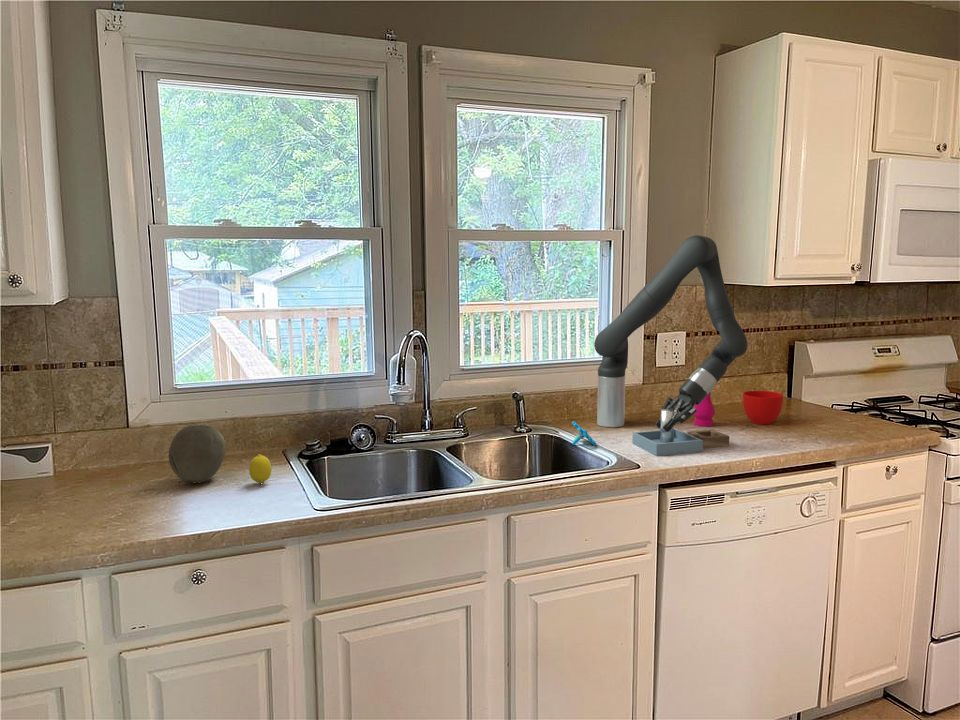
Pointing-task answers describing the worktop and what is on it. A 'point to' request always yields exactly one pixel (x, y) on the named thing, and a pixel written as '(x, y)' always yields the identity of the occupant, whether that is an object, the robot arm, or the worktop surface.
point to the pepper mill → (704, 412)
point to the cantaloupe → (197, 453)
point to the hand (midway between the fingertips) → (661, 428)
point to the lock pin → (665, 416)
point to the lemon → (260, 469)
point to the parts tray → (658, 448)
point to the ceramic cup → (762, 406)
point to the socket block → (711, 438)
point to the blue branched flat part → (582, 435)
